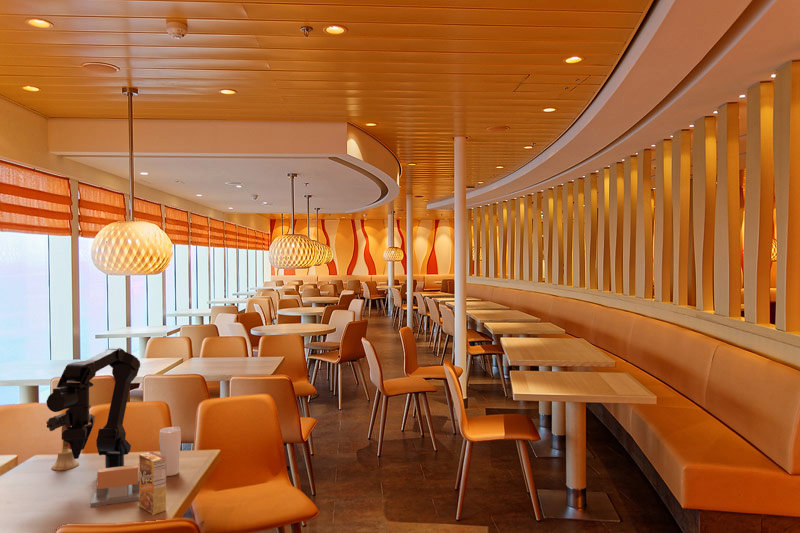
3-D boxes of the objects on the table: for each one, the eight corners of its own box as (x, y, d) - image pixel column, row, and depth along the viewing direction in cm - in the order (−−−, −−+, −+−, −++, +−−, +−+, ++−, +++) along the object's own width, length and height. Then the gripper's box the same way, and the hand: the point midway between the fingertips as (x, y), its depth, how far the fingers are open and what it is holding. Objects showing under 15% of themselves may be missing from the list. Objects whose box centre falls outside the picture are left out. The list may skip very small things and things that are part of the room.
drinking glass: (173, 478, 189) (173, 433, 189) (155, 476, 190) (154, 431, 190) (185, 470, 195) (184, 427, 195) (167, 469, 197) (167, 426, 197)
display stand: (97, 491, 178) (96, 478, 178) (146, 485, 183) (145, 472, 183) (90, 506, 167) (90, 493, 167) (142, 499, 171) (142, 486, 171)
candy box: (138, 506, 166) (137, 454, 166) (152, 502, 170) (152, 450, 170) (153, 515, 161) (152, 461, 161) (167, 510, 164) (167, 457, 164)
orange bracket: (101, 479, 177) (101, 463, 177) (140, 475, 181) (140, 459, 181) (97, 489, 170) (97, 472, 170) (137, 484, 173) (137, 467, 173)
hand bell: (72, 460, 206) (71, 416, 206) (83, 465, 201) (83, 420, 201) (47, 467, 200) (46, 422, 199) (58, 472, 195) (57, 425, 195)
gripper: (55, 399, 183) (56, 447, 183) (41, 413, 166) (41, 467, 166) (94, 396, 187) (95, 444, 187) (84, 410, 169) (85, 462, 169)
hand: (79, 454), depth 177 cm, fingers open, 9 cm apart
